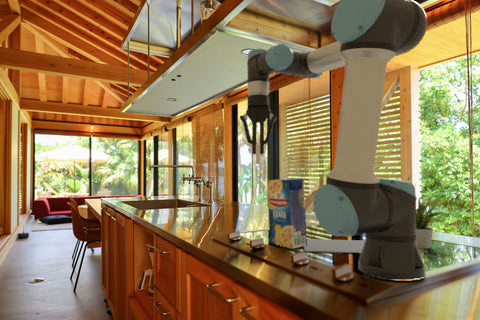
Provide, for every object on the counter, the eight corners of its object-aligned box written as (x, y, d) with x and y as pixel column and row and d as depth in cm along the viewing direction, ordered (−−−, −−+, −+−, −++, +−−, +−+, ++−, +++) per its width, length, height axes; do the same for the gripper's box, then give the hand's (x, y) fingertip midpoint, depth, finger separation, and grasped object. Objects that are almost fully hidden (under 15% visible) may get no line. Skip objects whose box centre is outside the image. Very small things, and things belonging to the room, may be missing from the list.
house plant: (417, 253, 103) (417, 200, 103) (386, 243, 116) (386, 196, 117) (455, 250, 107) (454, 198, 107) (420, 241, 120) (420, 195, 121)
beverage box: (284, 240, 121) (281, 179, 121) (307, 245, 112) (303, 178, 112) (270, 243, 117) (267, 180, 118) (292, 248, 108) (288, 179, 108)
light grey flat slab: (378, 254, 102) (378, 252, 102) (304, 252, 105) (304, 250, 105) (364, 241, 120) (364, 240, 120) (301, 240, 122) (301, 238, 122)
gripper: (277, 97, 120) (277, 163, 119) (241, 98, 122) (240, 163, 121) (277, 93, 112) (276, 163, 112) (238, 93, 114) (238, 163, 114)
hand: (258, 163), depth 116 cm, fingers closed
